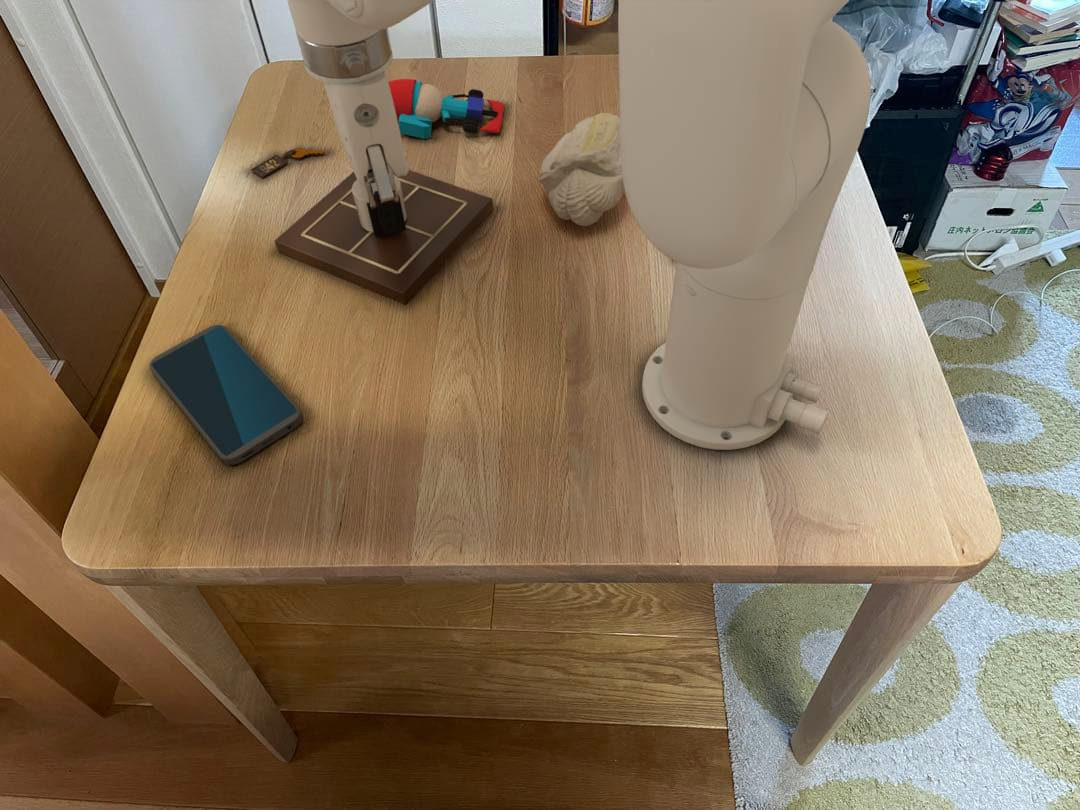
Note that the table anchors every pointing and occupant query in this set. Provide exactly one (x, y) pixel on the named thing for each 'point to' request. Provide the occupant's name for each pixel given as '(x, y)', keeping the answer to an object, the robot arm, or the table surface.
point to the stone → (362, 201)
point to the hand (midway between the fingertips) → (383, 214)
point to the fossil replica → (585, 170)
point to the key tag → (281, 161)
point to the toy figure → (440, 108)
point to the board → (392, 260)
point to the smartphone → (226, 394)
